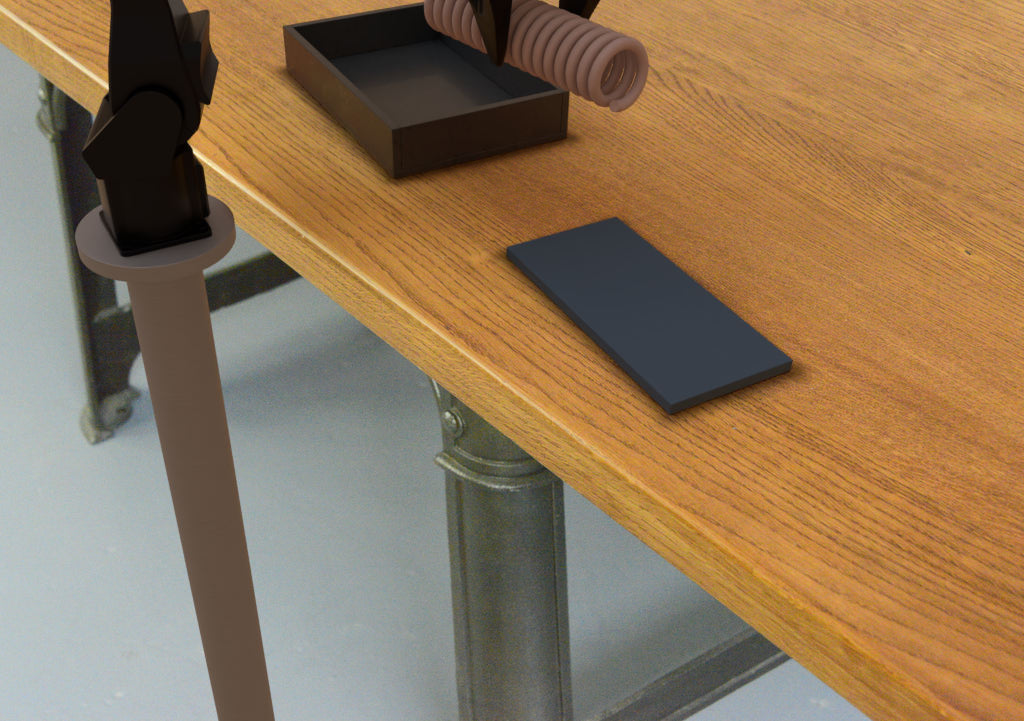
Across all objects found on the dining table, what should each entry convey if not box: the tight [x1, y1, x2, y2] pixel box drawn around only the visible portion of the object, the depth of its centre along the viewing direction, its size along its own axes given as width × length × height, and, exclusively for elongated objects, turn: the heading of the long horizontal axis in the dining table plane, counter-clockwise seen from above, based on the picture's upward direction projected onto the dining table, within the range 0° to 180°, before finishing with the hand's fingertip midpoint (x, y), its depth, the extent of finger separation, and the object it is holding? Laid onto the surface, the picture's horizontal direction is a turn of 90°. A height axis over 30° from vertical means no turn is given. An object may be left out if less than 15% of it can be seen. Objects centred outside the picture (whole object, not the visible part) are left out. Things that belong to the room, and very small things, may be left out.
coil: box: [423, 0, 650, 114], centre depth 77 cm, size 5×5×18 cm
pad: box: [505, 216, 794, 416], centre depth 74 cm, size 9×19×1 cm, turn 30°
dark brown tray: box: [282, 1, 571, 180], centre depth 96 cm, size 15×22×4 cm
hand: (531, 57), depth 78 cm, fingers closed on coil, 5 cm apart
